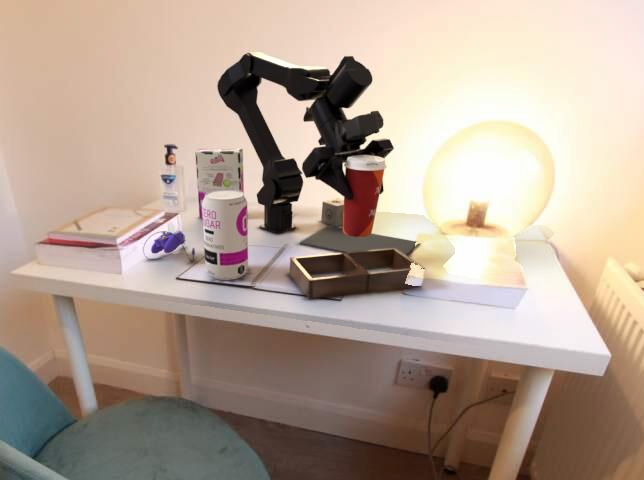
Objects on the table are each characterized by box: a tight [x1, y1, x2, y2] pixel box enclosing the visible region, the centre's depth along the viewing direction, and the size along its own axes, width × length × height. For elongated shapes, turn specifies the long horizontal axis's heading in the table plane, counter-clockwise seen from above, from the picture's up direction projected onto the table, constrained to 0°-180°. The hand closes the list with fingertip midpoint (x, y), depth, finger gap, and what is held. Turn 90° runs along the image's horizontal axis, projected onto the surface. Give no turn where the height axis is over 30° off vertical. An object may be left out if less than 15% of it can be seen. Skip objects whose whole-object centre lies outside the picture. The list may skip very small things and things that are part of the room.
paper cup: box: [342, 155, 387, 237], centre depth 94 cm, size 8×8×14 cm
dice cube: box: [320, 197, 344, 227], centre depth 121 cm, size 5×5×5 cm
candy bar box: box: [195, 148, 245, 219], centre depth 124 cm, size 11×5×16 cm, turn 81°
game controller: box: [142, 230, 196, 263], centre depth 101 cm, size 10×8×10 cm
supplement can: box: [202, 190, 249, 281], centre depth 92 cm, size 8×8×15 cm
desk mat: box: [299, 225, 417, 256], centre depth 108 cm, size 22×14×1 cm, turn 55°
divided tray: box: [289, 248, 426, 300], centre depth 90 cm, size 11×21×4 cm, turn 102°
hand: (366, 195), depth 93 cm, fingers closed on paper cup, 7 cm apart
